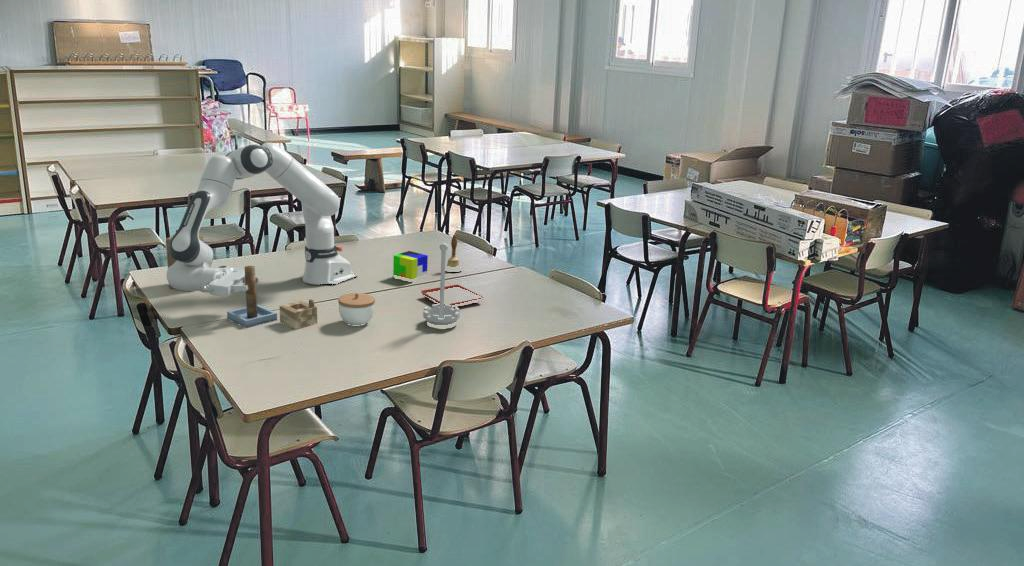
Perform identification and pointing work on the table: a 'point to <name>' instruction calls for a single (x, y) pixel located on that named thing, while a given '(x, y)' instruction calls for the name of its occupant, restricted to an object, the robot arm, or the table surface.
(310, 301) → the block
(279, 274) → the table surface
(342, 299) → the lidded bowl
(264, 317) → the tray
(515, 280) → the table surface
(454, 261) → the hand bell
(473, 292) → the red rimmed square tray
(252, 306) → the dowel
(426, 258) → the puzzle toy
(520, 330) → the table surface
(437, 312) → the flag stand
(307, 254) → the robot arm
